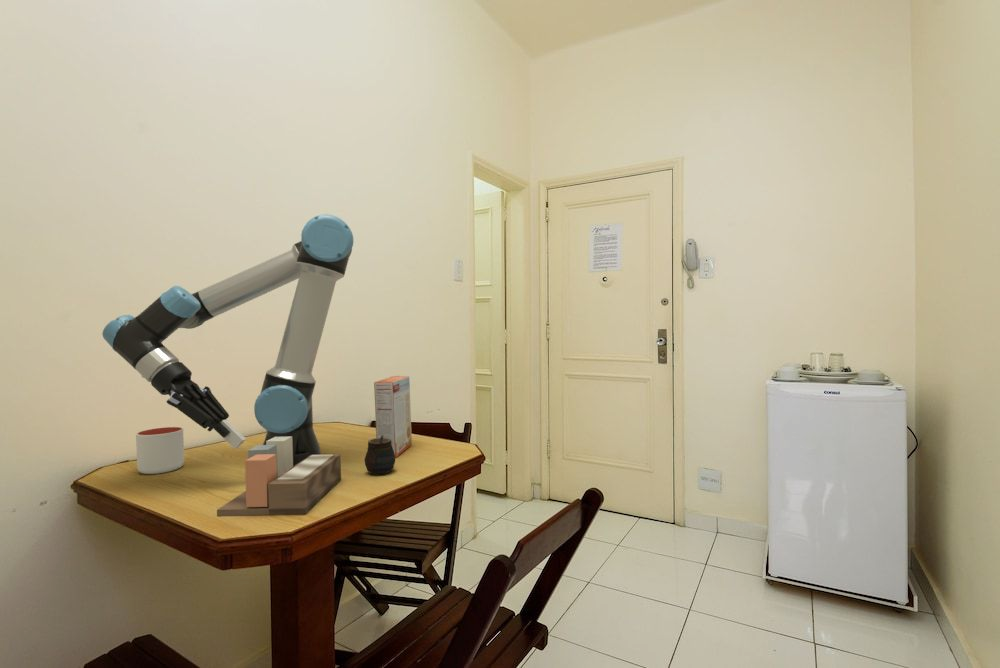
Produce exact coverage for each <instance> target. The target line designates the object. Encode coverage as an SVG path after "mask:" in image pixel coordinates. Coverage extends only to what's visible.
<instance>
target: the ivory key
mask: <svg viewBox="0 0 1000 668" xmlns="http://www.w3.org/2000/svg"><path fill="white" fill-rule="evenodd" d="M266 445H277V472H278V477H279V476H281V475H282V474H283V473H285V472H286V471H288V470H289V469H291V468H292V467H294V465H293V445H292V436H287V437H274V438H272V439H270V440H268V441H266Z"/></svg>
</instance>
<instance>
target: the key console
mask: <svg viewBox="0 0 1000 668" xmlns="http://www.w3.org/2000/svg"><path fill="white" fill-rule="evenodd" d="M341 463H342V462H341V454H320V455H310V456H308V457H307V458H305V459H304V460H302V461H301V462H300V463H298V464H296V465H293V467H292V468H291V469H289V470H288V471H286V472H285V473H283V474H282V475H281V476H279V477H278V478H276V479H275V480H273V481H272V482H270V483H269V484H268V494H269V506H268V507H246V490H245V491H243V492H242V493H240V494H239V495H237V496H236V497H234V498H233V499H231V500H230V501H228V502H227V503H225V504H223V505H222V506H220V507H219V508H217V509H216V515H217V517H233V516H234V517H235V516H288V515H289V516H292V515H307V513H309V512H310V511H312V509H313V508H314V507H315V506H316V505H317V504H318V503H319V502H321V500H322V499H323V498H325V496H327V494H329V493H330V491H332V490H333V489H334V488H335V486H337V484H338V483H340V482H341V480H342V469H341V467H342V464H341Z"/></svg>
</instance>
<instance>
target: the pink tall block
mask: <svg viewBox="0 0 1000 668" xmlns="http://www.w3.org/2000/svg"><path fill="white" fill-rule="evenodd" d="M244 466H245V467H244V469H245V491H246V507H268V506H269V494H268V484H269V483H270V482H272V481H273V480H275V479H276V478H277V463H276V454H257V455H254V456H253V457H251V458H249V459H248V458H247V459H245V460H244Z"/></svg>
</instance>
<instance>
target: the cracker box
mask: <svg viewBox="0 0 1000 668" xmlns="http://www.w3.org/2000/svg"><path fill="white" fill-rule="evenodd" d="M373 385H374V387H373V388H374V409H375V410H374V411H375V415H374V416H375V435H376V436H375V438H381V436H383V435H384V436H383V438H389V439H391V440H392V441H391V445H392V448H393V451H394V454H395V459H396V458H398V457H399V456H400V455H401V454H402V453H404V452H405V451H406V450H407V449H409V448H410V447H411V446H412V445H413V442H412V441H413V438H412V415H411V414H412V411H411V387H410V385H411V384H410V376H409V375H393V376H390V377H386V378H384V379H381V380H377V381H374V382H373Z"/></svg>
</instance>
